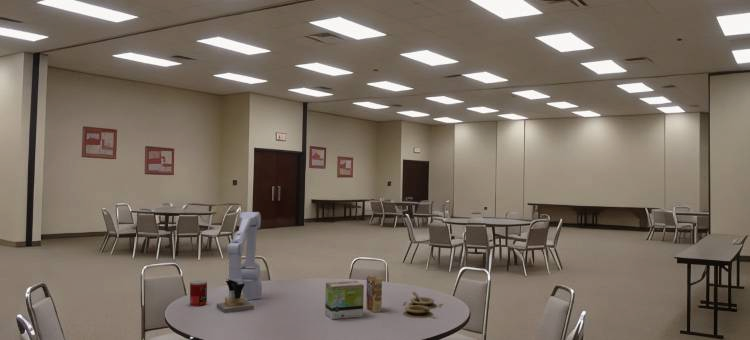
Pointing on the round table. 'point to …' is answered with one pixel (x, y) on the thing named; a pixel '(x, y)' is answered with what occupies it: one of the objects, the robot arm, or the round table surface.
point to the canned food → (198, 293)
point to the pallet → (234, 301)
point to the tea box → (344, 299)
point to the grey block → (232, 294)
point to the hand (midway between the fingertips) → (235, 296)
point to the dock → (235, 307)
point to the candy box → (374, 294)
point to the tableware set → (419, 307)
